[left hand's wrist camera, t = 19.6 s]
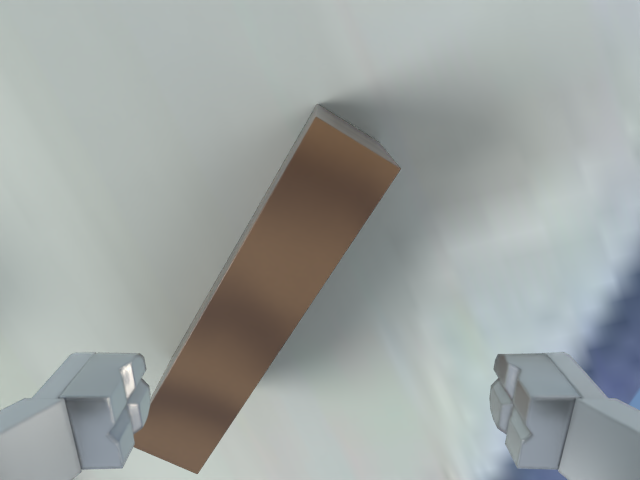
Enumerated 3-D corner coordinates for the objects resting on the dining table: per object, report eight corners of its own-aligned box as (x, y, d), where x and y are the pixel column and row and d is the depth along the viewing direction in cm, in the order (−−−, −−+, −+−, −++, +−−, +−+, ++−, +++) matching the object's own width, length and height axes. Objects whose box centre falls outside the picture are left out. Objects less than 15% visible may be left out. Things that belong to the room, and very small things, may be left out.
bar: (317, 103, 30) (315, 116, 22) (379, 142, 31) (401, 168, 23) (170, 360, 37) (126, 444, 29) (224, 385, 38) (197, 474, 30)
